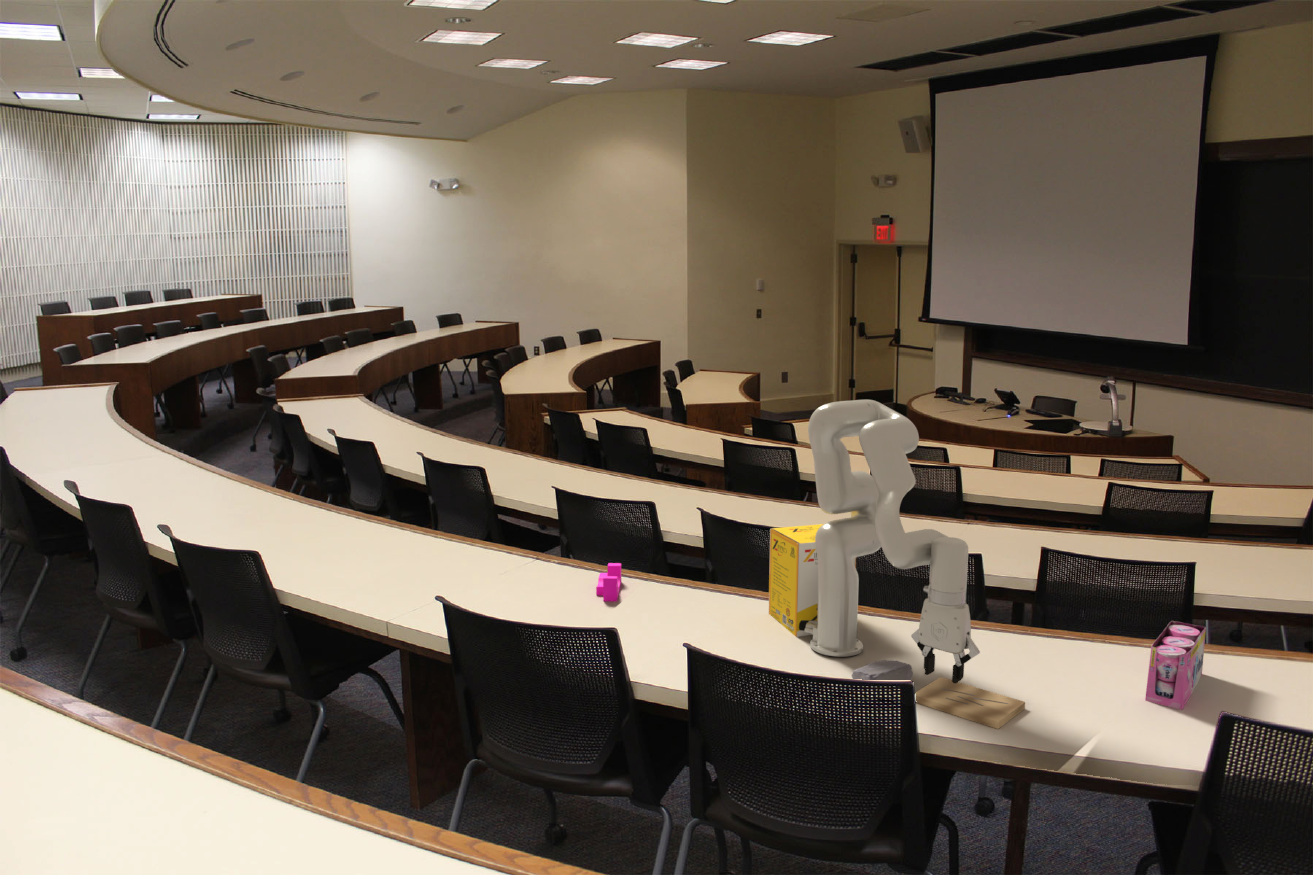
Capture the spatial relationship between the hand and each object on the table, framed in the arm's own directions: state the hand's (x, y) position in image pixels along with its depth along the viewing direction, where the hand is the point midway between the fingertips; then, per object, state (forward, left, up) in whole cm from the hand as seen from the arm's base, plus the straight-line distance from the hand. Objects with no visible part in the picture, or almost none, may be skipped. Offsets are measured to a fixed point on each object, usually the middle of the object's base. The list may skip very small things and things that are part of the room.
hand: (943, 676), depth 206 cm
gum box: (+35, +37, -5) cm, 52 cm away
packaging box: (-45, +17, -5) cm, 49 cm away
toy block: (-102, -1, -5) cm, 103 cm away
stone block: (-18, -1, -2) cm, 19 cm away
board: (+6, 0, -5) cm, 7 cm away
